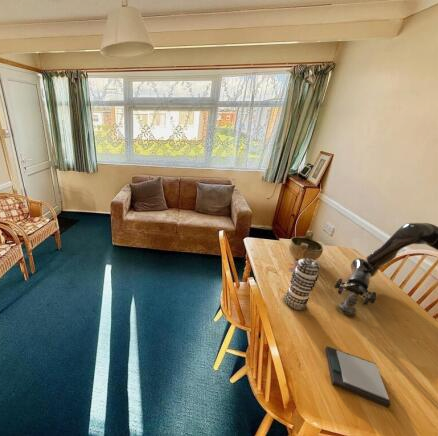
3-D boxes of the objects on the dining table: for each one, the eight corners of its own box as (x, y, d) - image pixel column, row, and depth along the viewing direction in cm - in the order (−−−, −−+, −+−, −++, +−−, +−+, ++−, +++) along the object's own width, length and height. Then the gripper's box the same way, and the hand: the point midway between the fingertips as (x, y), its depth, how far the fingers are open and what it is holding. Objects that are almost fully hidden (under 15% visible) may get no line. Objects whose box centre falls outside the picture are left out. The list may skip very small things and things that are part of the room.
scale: (371, 368, 81) (376, 362, 79) (386, 409, 70) (392, 403, 68) (324, 351, 87) (327, 344, 85) (330, 386, 76) (334, 380, 74)
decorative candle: (309, 314, 103) (327, 269, 92) (287, 311, 104) (302, 267, 93) (300, 299, 111) (316, 256, 100) (280, 296, 112) (294, 254, 102)
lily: (281, 276, 127) (291, 269, 120) (285, 260, 134) (295, 253, 126) (303, 287, 124) (315, 281, 117) (306, 270, 131) (318, 263, 123)
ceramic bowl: (290, 246, 154) (296, 226, 148) (320, 255, 144) (328, 234, 138) (281, 260, 139) (288, 239, 133) (315, 272, 129) (323, 250, 123)
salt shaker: (350, 320, 99) (361, 300, 94) (334, 312, 103) (344, 292, 98) (354, 314, 102) (365, 294, 97) (339, 306, 107) (348, 286, 101)
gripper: (343, 268, 115) (335, 283, 105) (381, 282, 105) (377, 300, 96) (338, 280, 118) (330, 295, 108) (374, 295, 109) (369, 313, 99)
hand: (352, 298), depth 102 cm, fingers open, 8 cm apart
